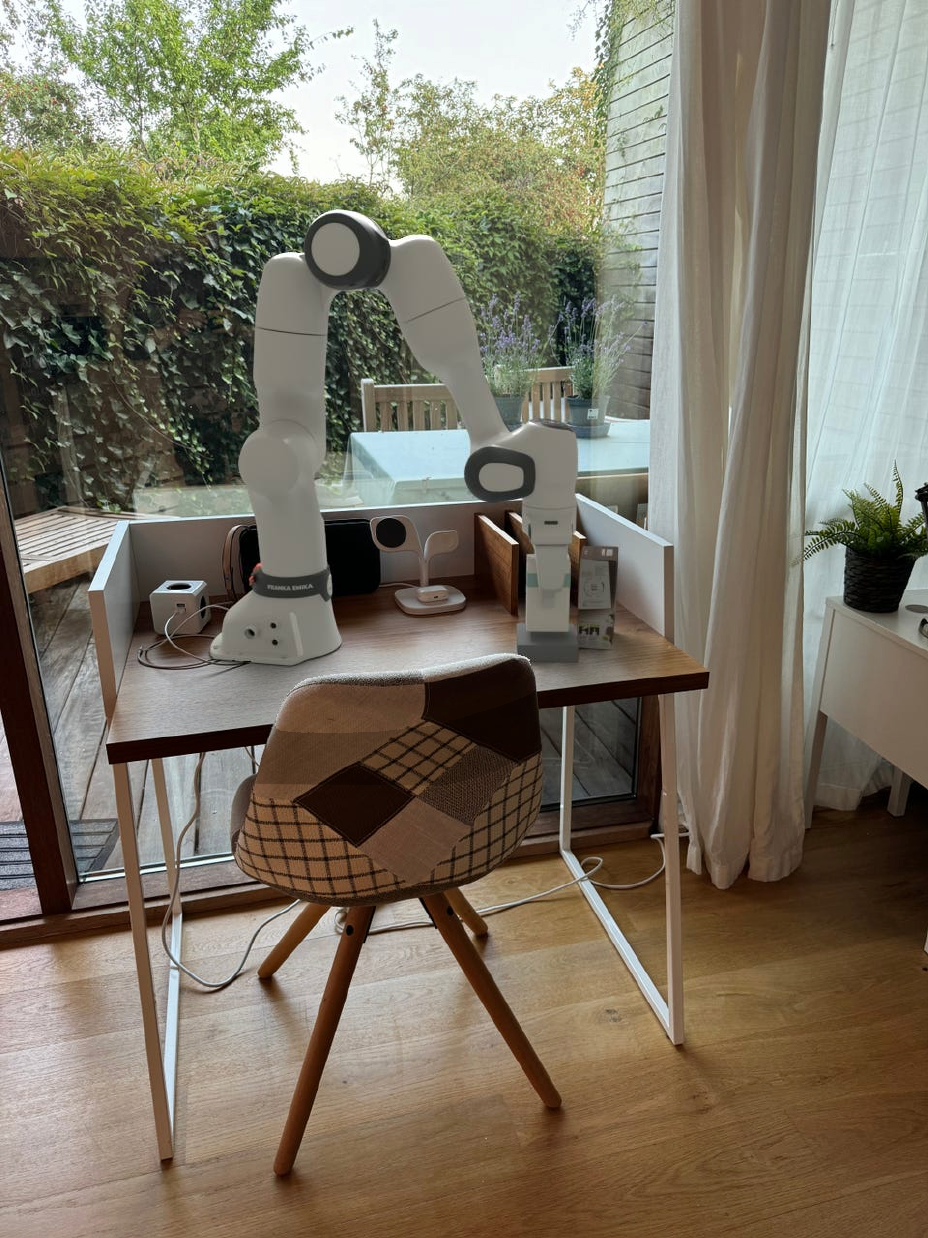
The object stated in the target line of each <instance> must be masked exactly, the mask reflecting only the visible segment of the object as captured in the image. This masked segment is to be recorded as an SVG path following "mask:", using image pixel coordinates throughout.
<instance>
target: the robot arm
mask: <svg viewBox="0 0 928 1238" xmlns="http://www.w3.org/2000/svg"><path fill="white" fill-rule="evenodd" d="M303 240H304V242H303V252H301V253H298V252H284V253H279V254H277V255H275V256H271V258H269V259H268V261H267V262H265V265H264V267H263V269H262V274H261V279H260V282H259V288H258V294H257V300H256V310H255V321H254V322H255V323H254V325H255V326H254V344H253V345H254V347H253V349H254V351H253V371H252V372H253V375H252V377H253V382H254V384H255V388H256V394H257V402H258V410H259V426H258V429H256V430H255V431H253V432H252V433H251V434H250V435H249V436H248V437H247V438H246V440H245V442H244V443H243V446H242V448H241V449H240V454H239V457H238V461H237V462H238V463H237V464H238V471H239V472H238V473H239V475H240V478H241V480H242V481H243V483H244V484H245V486H246V490H247V491H246V492H247V495H248V498H249V503H250V504H251V508H252V511H253V515H254V520H255V523H256V528H257V529H256V530H257V538H258V547H259V557H260V562H259V563H257V564H256V566H255V567H254V568H253V570H252V573H251V574H250V577H249V579H248V580H249V586H250V587H251V589H252V590H250V591H249V592H248V593H247V594H246V595H244V596H243V597H242V598H240V600H238V601H237V602H236V603H235V604H234V605H232V606H231V608H230V609H229V610H228V611H227V612H226V614H225V616H224V619H223V623H222V630H221V631H222V632H220V633H219V634H218V635H217V636H215V638H214V639H213V640H212V642H211V644H210V647H209V648H210V651H209V652H210V653H209V654H210V657H211V656H212V657H213V658H212V657H211V658H212V659H214V660H221V661H222V660H223V661H232V660H235V661H234V662H243V661H251V662H250V663H255V664H256V663H257V664H265V665H266V664H268V665H269V664H270V665H278V666H279V665H280V666H295V665H297V664H300V663H302V662H304V661H306V660H309V659H313V658H317V657H318V658H319V657H321V656H325V655H327V654H329V653H332V652H333V651H335V650H337V649H338V648H340V646H341V645H342V641H343V640H342V637H341V635H340V632H339V630H338V626H337V623H336V618H335V614H334V611H333V610H334V609H333V604H332V599H331V598H332V595H333V583H332V574H331V569H330V565H329V564H328V561H327V560H328V559H327V547H326V546H327V544H326V532H325V531H326V530H325V519H324V518H323V516H322V513H321V511H320V505H319V500H318V497H317V492H316V486H315V475H316V473H317V472H318V471H319V470H320V468H321V467H322V466H323V463H324V461H325V458H326V454H327V422H326V421H327V419H326V399H325V377H326V361H327V358H326V357H327V349H328V348H327V347H328V345H327V344H328V333H329V331H328V330H329V329H328V328H329V314H330V309H331V304H332V302H333V300H334V299H335V297H336V295H340V294H346V293H350V292H352V293H355V292H360V291H363V290H367V289H376V290H378V291H380V292H381V293H382V294H383V295H384V296H385V298H386V299H387V301H388V304H390V306H391V309H392V310H393V314H394V317H395V319H396V321H397V324H398V326H399V330H400V331H401V334H402V337H403V338H404V340H405V342H406V344H407V347H408V348H409V349H410V352H411V353H412V355H413V356H414V358H415V359H416V361H417V363H418V364H419V366H420V367H421V368H422V369H424V370H426V372H429V373H430V374H431V375H433V376H434V377H436V378H437V379H438V380H439V381H440V382H441V383H442V384H443V385H444V386H445V387H446V388H447V390H448V392H449V393H450V395H451V397H452V399H453V402H454V404H455V406H456V408H457V411H458V413H459V416H460V417H461V420H462V422H463V425H464V428H465V430H466V432H467V434H468V437H469V441H470V445H469V446H470V450H469V451H470V452H469V455H468V458H467V459H466V462H465V465H464V468H463V478H464V482H465V485H466V487H467V489H468V491H469V492H470V493H471V494H472V495H473V496H474V498H476V499H478V500H480V501H483V502H484V503H489V504H491V503H494V504H495V503H503V502H510V501H515V500H519V499H521V531H522V533H524V534H526V536H527V537H528V538H529V542H530V543H531V545H532V547H533V550H534V554H535V557H536V567H537V577H538V585H539V590H540V591H541V592H542V593H543V601H542V604H543V608H553V606H554V596H555V592H561V590H562V588H563V583H564V577H565V570H566V562H567V554H569V553H568V552H569V550H568V549H569V545H572V543H573V535H574V534H575V532H576V531H577V509H578V508H577V506H578V500H577V495H576V484H577V480H578V476H579V448H578V439H577V435H576V432H575V431H574V430H573V428H572V427H571V426H570V425H568V424H567V423H565V422H562V421H559V420H556V419H551V418H545V417H544V418H541V417H540V418H538V417H535V418H531V419H529V420H528V421H527V422H526V423H525V424H523V425H522V426H520V427H519V428H516V429H515V430H512V429H511V428H510V427H509V426H508V425H507V423H506V421H504V419H503V416H502V414H501V411H500V409H499V406H498V404H497V402H496V399H495V397H494V394H493V392H492V389H491V388H490V384H489V382H488V380H487V377H486V375H485V371H484V367H483V363H482V361H483V360H482V356H481V351H480V344H479V338H478V332H477V328H476V323H475V320H474V316H473V313H472V311H471V310H472V309H471V307H470V304H469V301H468V298H467V297H466V294H465V291H464V288H463V287H462V284H461V282H460V280H459V277H458V276H457V273H456V271H455V269H454V267H453V265H452V264H451V262H450V259H449V258H448V257H447V255H446V253H445V251H444V250H443V248H442V246H441V245H440V243H439V242H438V241H437V240H436V239H435V238H433V237H432V236H428V235H426V234H425V235H424V234H411V235H407V236H405V237H403V238H400V239H396V240H393V239H392V240H391V239H390V237H389V235H388V234H387V232H386V231H385V229H384V228H383V227H382V226H381V224H379V223H378V222H377V221H375V220H374V219H372V218H371V217H369V216H367V215H366V214H364V213H362V212H359V211H355V210H347V209H346V210H344V209H334V210H329V211H327V212H325V213H323V214H321V215H319V216H318V217H316V219H314V221H312V223H310V225H309V227H308V229H307V231H306V233H305V235H304V239H303Z"/></svg>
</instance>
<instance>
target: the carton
mask: <svg viewBox="0 0 928 1238" xmlns="http://www.w3.org/2000/svg"><path fill="white" fill-rule="evenodd" d="M525 565H526V569H525V572H526V573H525V578H526V579H525V580H526V581H525V583H526V584H525V593H526V594H525V624H526V630H527V631H554V632H568V629H569V624H570V598H571V597H570V593H571V582H572V581H571V580H572V579H571V578H572V577H571V576H572V573H571V567H572V566H571V565H572V562H571V558H570V556H569V553H567V562H566V570H565V577H564V583H563V588H562V590H561V592H555V596H554V606H553V608H543V604H542V601H543V593H542V592H541V591H540V590H539V585H538V577H537V567H536V557H535V553H534V554H533V553H532V554H531V553H527V554H526V564H525Z"/></svg>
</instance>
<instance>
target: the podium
mask: <svg viewBox="0 0 928 1238" xmlns="http://www.w3.org/2000/svg"><path fill="white" fill-rule="evenodd" d="M517 654H518V655H521V656H525V657H527V658H528V659H530V661H531V663H532V662H533V663H535V662H536V663H539V662H540V663H545V662H546V663H554V662H555V663H578V662H579V661H578V660H579V648H578V641H577V631H576V629H575V625H574V623H569V629H568V632H554V631H527V630H526V623H516V655H517Z"/></svg>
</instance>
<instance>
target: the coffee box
mask: <svg viewBox="0 0 928 1238" xmlns="http://www.w3.org/2000/svg"><path fill="white" fill-rule="evenodd" d="M618 566H619V546H610V545H609V546H607V545H595V546H594V545H583V546H582V549H581V552H580V556H579V572H578V573H579V574H578V592H577V593H578V594H577V597H578V598H577V619H576V621H577V623H576V624H577V625H576V637H577V641H578V649H579V648H580V649H581V648H582V649H593V650H606V651H612V650H613V642H614V634H615V625H616V623H615V622H616V612H617V611H616V610H617V609H616V608H617V593H618V592H617V591H618V574H619V573H618V569H619V567H618Z"/></svg>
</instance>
